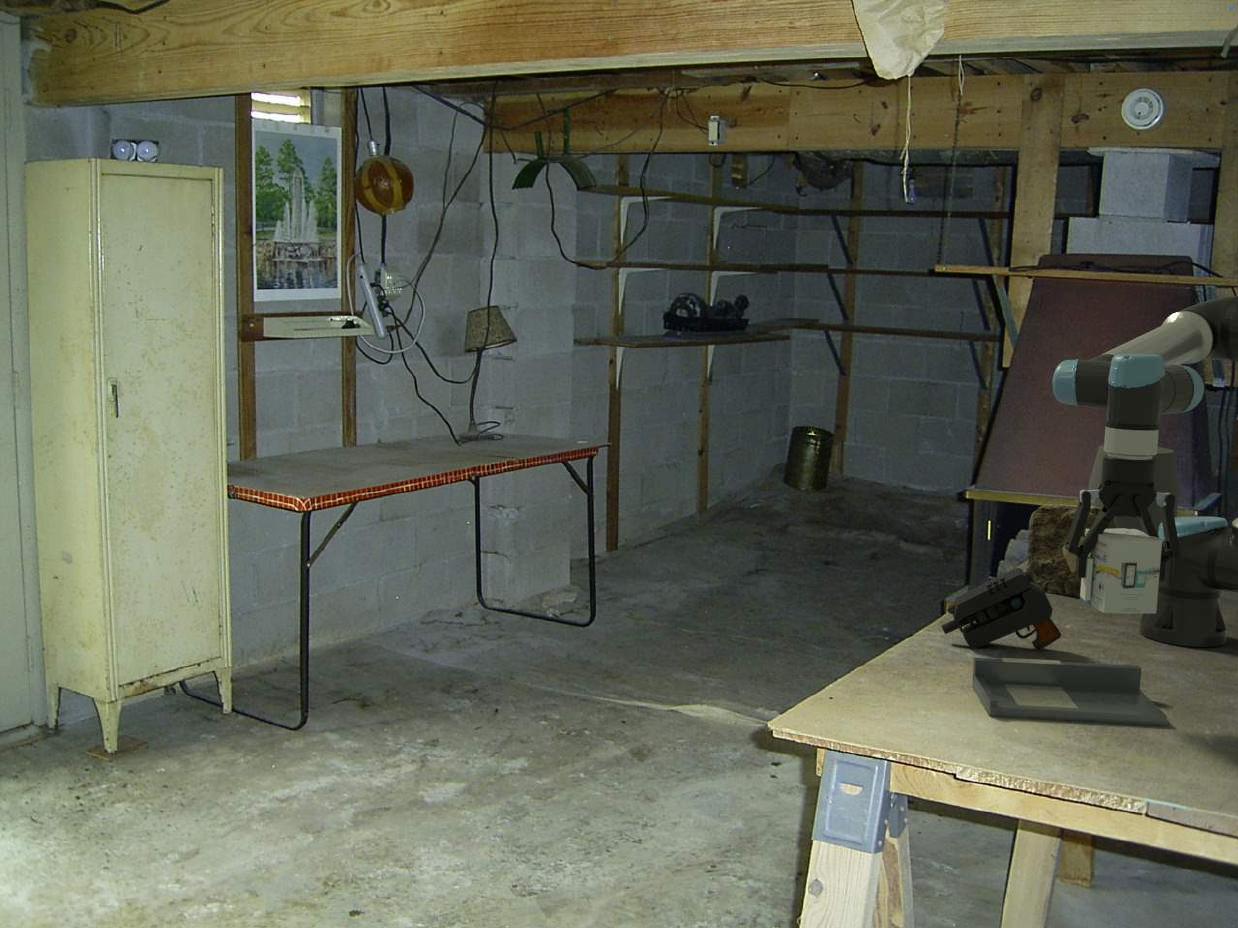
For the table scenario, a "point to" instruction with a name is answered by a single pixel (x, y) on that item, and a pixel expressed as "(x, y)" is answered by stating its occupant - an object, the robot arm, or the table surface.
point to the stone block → (1055, 548)
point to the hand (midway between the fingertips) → (1117, 599)
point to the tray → (1063, 691)
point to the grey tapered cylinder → (1162, 483)
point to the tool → (1004, 611)
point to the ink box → (1125, 572)
